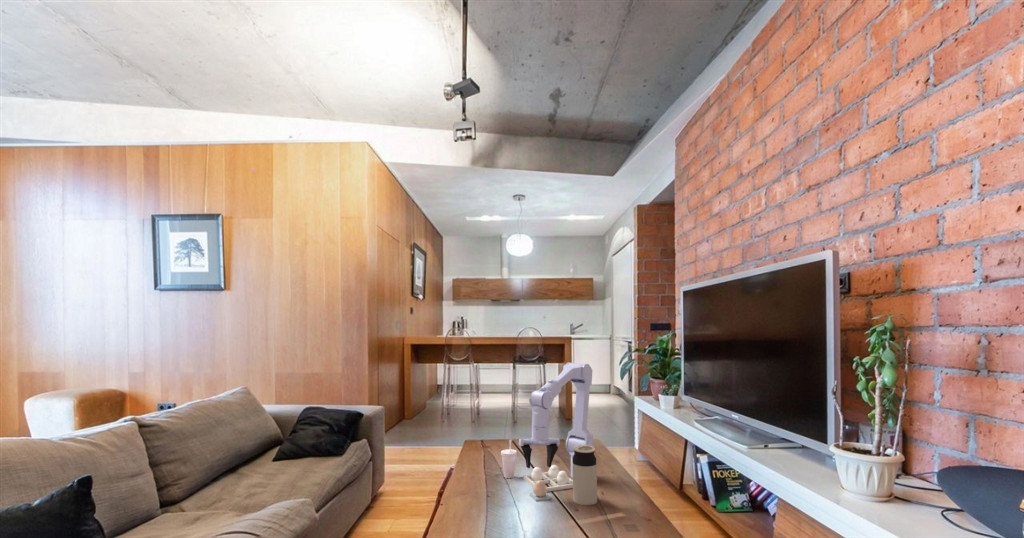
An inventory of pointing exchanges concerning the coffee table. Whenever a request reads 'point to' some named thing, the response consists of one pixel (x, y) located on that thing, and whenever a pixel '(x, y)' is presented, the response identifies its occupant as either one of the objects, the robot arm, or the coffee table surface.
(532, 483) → the carton
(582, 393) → the robot arm
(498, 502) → the coffee table surface
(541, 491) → the brown egg
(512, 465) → the smoothie
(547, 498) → the egg cup
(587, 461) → the travel mug
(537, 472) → the white eggs
